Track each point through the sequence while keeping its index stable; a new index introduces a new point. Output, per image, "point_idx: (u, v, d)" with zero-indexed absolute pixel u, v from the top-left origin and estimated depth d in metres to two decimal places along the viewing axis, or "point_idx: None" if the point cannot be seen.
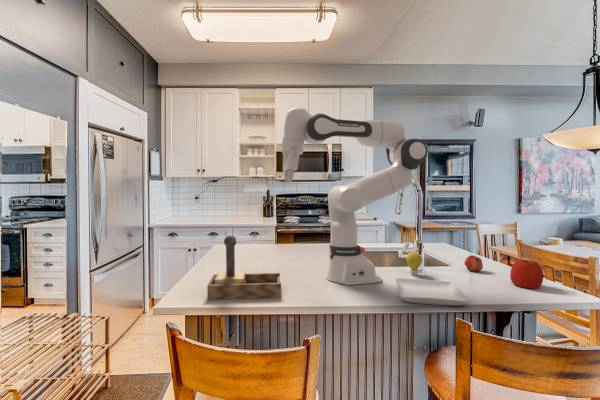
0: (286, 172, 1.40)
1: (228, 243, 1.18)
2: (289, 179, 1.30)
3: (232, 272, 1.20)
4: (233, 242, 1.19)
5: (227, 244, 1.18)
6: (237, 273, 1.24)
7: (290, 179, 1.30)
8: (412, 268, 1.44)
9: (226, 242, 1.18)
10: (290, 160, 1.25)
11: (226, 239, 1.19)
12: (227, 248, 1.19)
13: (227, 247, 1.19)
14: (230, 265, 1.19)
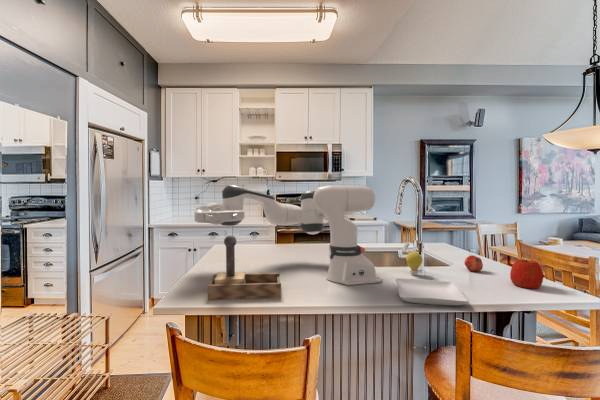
0: (208, 215, 1.34)
1: (228, 243, 1.18)
2: None
3: (232, 272, 1.20)
4: (233, 242, 1.19)
5: (227, 244, 1.18)
6: (237, 273, 1.24)
7: None
8: (412, 268, 1.44)
9: (226, 242, 1.18)
10: None
11: (226, 239, 1.19)
12: (227, 248, 1.19)
13: (227, 247, 1.19)
14: (230, 265, 1.19)
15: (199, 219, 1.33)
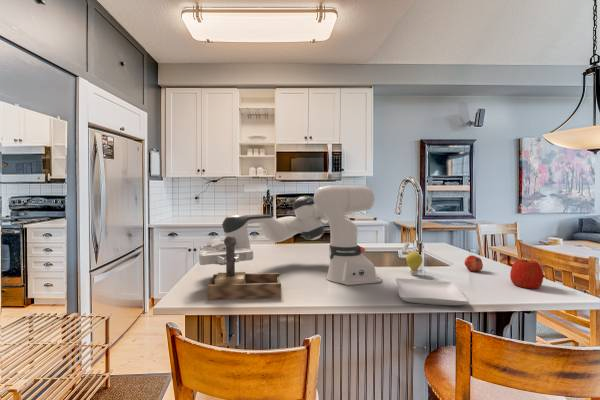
0: None
1: (228, 243, 1.18)
2: None
3: (232, 272, 1.20)
4: (233, 242, 1.19)
5: (227, 244, 1.18)
6: (237, 273, 1.24)
7: None
8: (412, 268, 1.44)
9: (226, 242, 1.18)
10: None
11: (226, 239, 1.19)
12: (227, 248, 1.19)
13: (227, 247, 1.19)
14: (230, 265, 1.19)
15: (204, 262, 1.20)
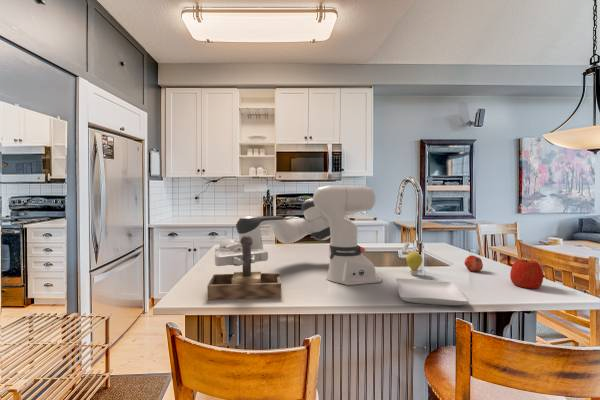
0: None
1: (244, 243, 1.19)
2: None
3: (248, 272, 1.20)
4: (250, 242, 1.19)
5: (244, 244, 1.19)
6: (253, 273, 1.24)
7: None
8: (412, 268, 1.44)
9: (243, 242, 1.19)
10: None
11: (243, 239, 1.19)
12: (243, 248, 1.20)
13: (243, 247, 1.20)
14: (247, 265, 1.20)
15: (221, 264, 1.21)
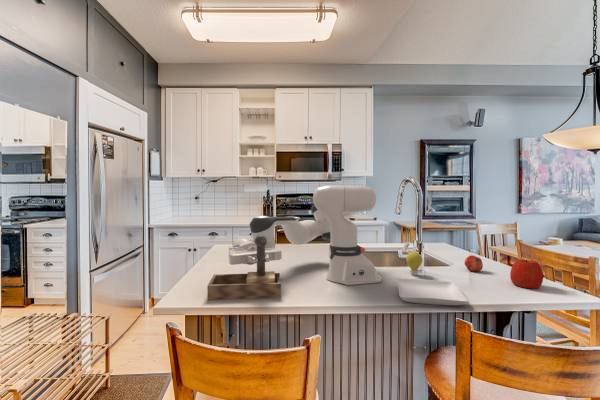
0: None
1: (259, 243, 1.19)
2: None
3: (263, 272, 1.21)
4: (264, 242, 1.20)
5: (258, 244, 1.19)
6: (267, 272, 1.25)
7: None
8: (412, 268, 1.44)
9: (257, 242, 1.19)
10: None
11: (257, 239, 1.20)
12: (258, 247, 1.20)
13: (258, 246, 1.20)
14: (261, 265, 1.20)
15: (235, 262, 1.21)
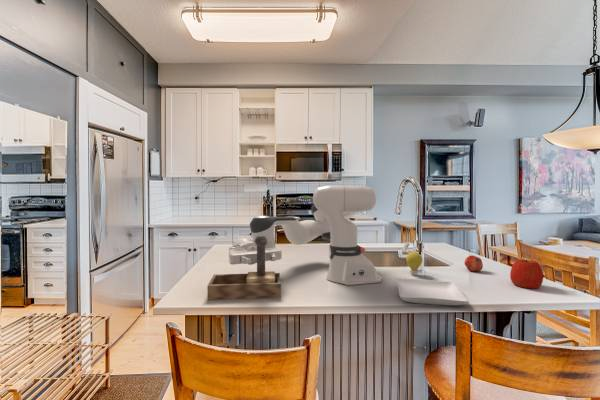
0: None
1: (259, 243, 1.19)
2: None
3: (263, 272, 1.21)
4: (264, 242, 1.20)
5: (258, 244, 1.19)
6: (267, 272, 1.25)
7: None
8: (412, 268, 1.44)
9: (257, 242, 1.19)
10: None
11: (257, 239, 1.20)
12: (258, 247, 1.20)
13: (258, 246, 1.20)
14: (261, 265, 1.20)
15: (235, 262, 1.22)
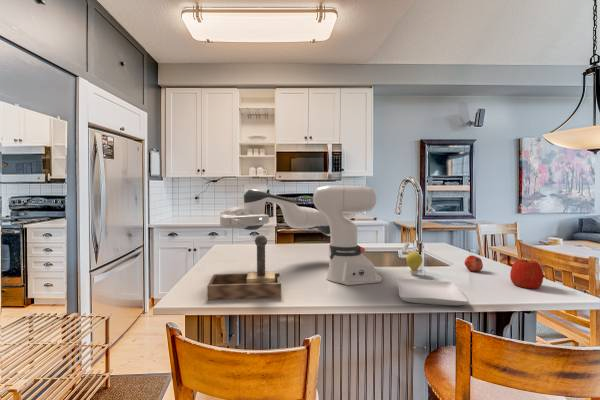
0: None
1: (259, 243, 1.19)
2: None
3: (263, 272, 1.21)
4: (264, 242, 1.20)
5: (258, 244, 1.19)
6: (267, 272, 1.25)
7: None
8: (412, 268, 1.44)
9: (257, 242, 1.19)
10: None
11: (257, 239, 1.20)
12: (258, 247, 1.20)
13: (258, 246, 1.20)
14: (261, 265, 1.20)
15: (225, 224, 1.32)
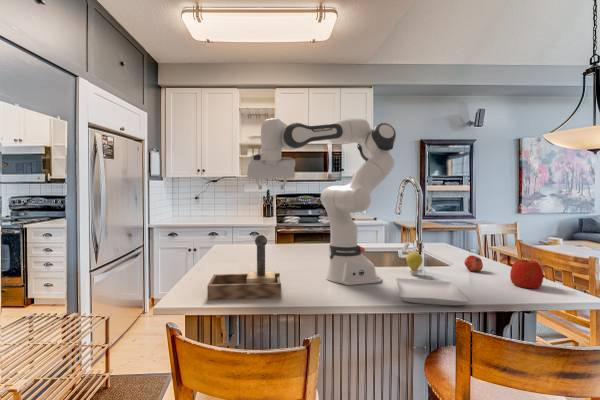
0: None
1: (259, 243, 1.19)
2: None
3: (263, 272, 1.21)
4: (264, 242, 1.20)
5: (258, 244, 1.19)
6: (267, 272, 1.25)
7: (283, 187, 1.43)
8: (412, 268, 1.44)
9: (257, 242, 1.19)
10: (294, 171, 1.42)
11: (257, 239, 1.20)
12: (258, 247, 1.20)
13: (258, 246, 1.20)
14: (261, 265, 1.20)
15: None
